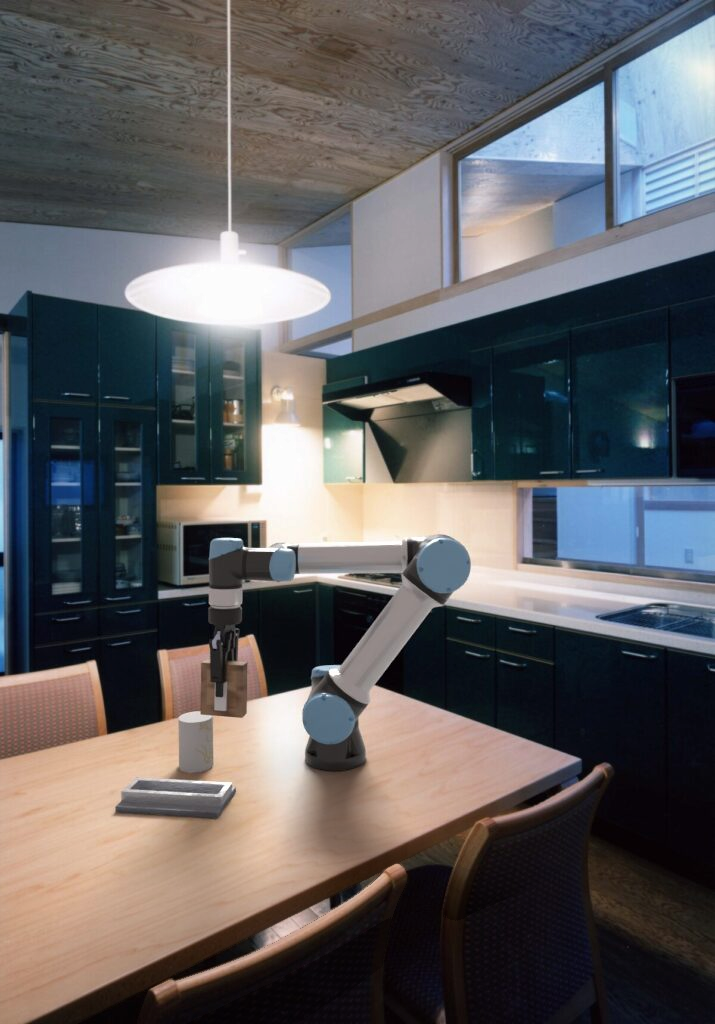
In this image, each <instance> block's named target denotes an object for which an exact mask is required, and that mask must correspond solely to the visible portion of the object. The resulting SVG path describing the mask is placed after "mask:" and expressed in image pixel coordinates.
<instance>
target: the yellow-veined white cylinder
mask: <svg viewBox="0 0 715 1024" xmlns="http://www.w3.org/2000/svg"><path fill="white" fill-rule="evenodd" d="M200 712H201V710H197V711H190V712H186V713H185V712H184V713H182V714H181V715H179V717H178V718H177V719H178V720H177V721H178V769H179V770H180V771H181V772H184V773H188V774H189V773H190V774H191V773H195V774H196V773H201V772H205V771H208V770H210V769H211V768H213V766H214V716H212V715H200Z"/></svg>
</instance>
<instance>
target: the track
mask: <svg viewBox="0 0 715 1024" xmlns="http://www.w3.org/2000/svg"><path fill="white" fill-rule="evenodd" d="M236 792H237V787H236V786H235V785H233V782H228V781H227V782H226V781H225V782H224V781H208V780H205V781H204V780H189V779H173V778H171V779H169V778H154V777H153V778H151V777H135V778H134V779H133V780H132V781H130V783H129V784H128V785H126V786H125V787H124V788H123V789H122V790H121V791H120V796H121V797H120V799H121V800H120V802H119V803H118V804H116V805H115V811H114V812H115V813H120V814H123V813H124V814H139V815H153V816H168V817H169V816H170V817H187V818H202V819H203V818H204V819H215V820H216V819H219V817H220V815H222V813H223V811H224V810H225V808H226V807H227V806H228V805H229V803H230V801H231V800H232V798H233V797H234V795H235V794H236Z"/></svg>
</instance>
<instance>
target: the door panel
mask: <svg viewBox="0 0 715 1024" xmlns="http://www.w3.org/2000/svg"><path fill="white" fill-rule="evenodd" d="M210 680H211V679H210V658H209V659H205V660H203V661H201V663H200V711H201V712H200V715H212V716H213V717H227V718H236V719H237V718H240V719H243V718H244V717H245V716H246V715H247V713H248V711H247V710H248V706H247V705H248V703H247V702H248V661H227V668H226V682H227V710H226V711H219V710H214V699H215V682H211V681H210Z"/></svg>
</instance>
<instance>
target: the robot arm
mask: <svg viewBox="0 0 715 1024" xmlns="http://www.w3.org/2000/svg"><path fill="white" fill-rule="evenodd" d="M209 544H210V545H209V554H208V555H209V557H208V576H209V577H208V590H207V591H206V593H207V595H208V604H209V605H210V606H209V607H208V611H207V613H208V619H207V620H208V623H209V624H211V625H213V626H215V627H214V632H213V639H211V638H210V639H209V641H208V646H209V657H210V658H209V659H210V679H211V680H210V681H211V682H215V699H214V710H219V711H226V710H227V682H226V668H227V661H238V658H239V638H240V630H241V629H240V628H236V625H238V624H241V623H242V621H243V608H242V606H241V605H242V604H243V582H244V581H248V582H249V581H255V582H256V581H260V582H276V583H282V582H291V581H293V580H294V578H295V575H304V574H305V575H306V574H307V575H309V574H311V575H312V574H315V575H317V574H318V575H319V574H327V575H328V574H401V582H402V583H401V585H400V587H399V588H398V589H397V591H395V593H394V595H393V596H392V597H391V599H390V600H389V601H388V603H387V604H386V605H385V606H384V608H383V609H382V611H381V612H380V613H379V614H378V616H377V617H376V619H375V620H374V621H373V623H372V624H371V625H370V627H369V628H368V629H367V630H366V632H365V633H364V635H362V637H361V639H360V640H359V642H357V643H356V645H355V647H354V648H353V649H352V651H350V653H349V655H348V656H347V657H346V658H345V659H344V661H343V663H341V664H333V665H332V664H331V665H326V664H325V665H319V666H315V667H314V668H313V669H311V676H310V680H311V690H310V693H309V695H308V698H307V700H306V702H304V704H303V708H302V713H301V715H302V716H301V717H302V718H301V719H302V720H301V721H302V724H303V728H304V730H305V732H306V733H307V735H308V736H309V737H308V740H307V743H306V746H305V749H304V760H305V763H306V764H307V765H308V766H310V767H312V768H315V769H318V770H321V771H329V772H331V771H332V772H333V771H335V772H336V771H337V772H338V771H339V772H340V771H347V770H351V769H354V768H357V767H359V766H361V765H363V764H364V763H365V761H366V758H367V753H366V752H367V751H366V750H367V749H366V746H365V743H364V739H363V736H362V734H361V731H360V728H359V727H360V725H359V724H360V723H359V719H360V718H359V717H360V716H361V715H362V713H363V712H364V711H365V710H366V708H367V707H368V705H369V704H370V702H371V696H370V695H371V694H370V693H371V690H372V689H373V688H374V686H375V685H376V683H377V682H378V681H379V680H380V678H381V677H382V676H383V674H384V673H385V671H386V670H387V669H388V668H389V666H390V665H391V663H392V662H393V661H394V660H395V658H396V657H397V656H398V655H399V653H400V652H401V650H402V649H403V648H404V646H405V645H406V644H407V642H408V641H409V640H410V639H411V637H412V635H414V633H415V632H416V630H417V629H418V628H419V627H420V625H421V624H422V623H423V621H424V620H425V619H426V617H427V616H428V615H429V613H431V611H432V609H434V608H438V607H443V606H444V605H445V604H446V603H447V601H448V600H449V598H450V597H451V596H452V595H453V593H454V592H456V591H457V590H459V589H461V587H463V586H464V585H465V584H466V582H467V580H468V579H469V577H470V574H471V568H472V565H471V557H470V554H469V552H468V550H467V549H466V546H464V545H463V544H462V543H461V542H460V541H459V540H457V539H455V538H453V537H452V536H449V535H446V534H443V533H442V534H438V533H437V534H431V535H426V536H419V537H418V536H417V537H404V538H403V539H402V540H401V541H388V542H387V541H383V542H381V541H378V542H370V541H369V542H322V543H321V542H317V543H316V542H315V543H314V542H313V543H312V542H310V543H305V542H304V543H302V542H301V543H286V542H275V543H273V544H271V545H270V546H268V547H246V546H245V545H244V540H242V538H237V537H236V538H234V537H220V538H219V537H218V538H213V539H212V540H211V541H210V543H209Z"/></svg>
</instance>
